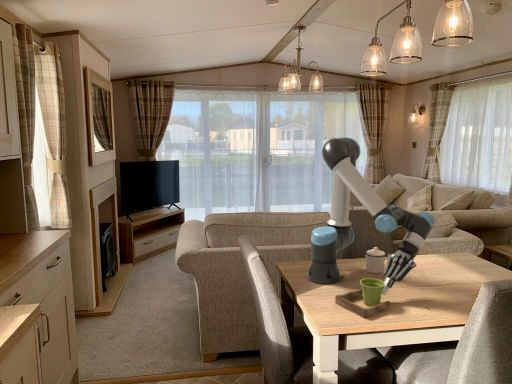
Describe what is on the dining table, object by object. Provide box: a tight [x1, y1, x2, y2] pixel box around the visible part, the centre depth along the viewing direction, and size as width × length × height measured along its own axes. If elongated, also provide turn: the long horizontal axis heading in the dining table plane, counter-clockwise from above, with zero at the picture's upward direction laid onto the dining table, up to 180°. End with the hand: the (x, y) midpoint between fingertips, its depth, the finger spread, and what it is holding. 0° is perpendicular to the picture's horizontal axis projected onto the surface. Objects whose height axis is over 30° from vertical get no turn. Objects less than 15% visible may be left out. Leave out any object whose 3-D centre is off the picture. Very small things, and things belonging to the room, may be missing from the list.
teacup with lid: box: [365, 246, 386, 274], centre depth 195 cm, size 12×9×12 cm
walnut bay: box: [334, 288, 391, 319], centre depth 155 cm, size 14×15×3 cm
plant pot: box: [359, 277, 385, 307], centre depth 157 cm, size 9×9×9 cm
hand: (382, 292), depth 159 cm, fingers closed
